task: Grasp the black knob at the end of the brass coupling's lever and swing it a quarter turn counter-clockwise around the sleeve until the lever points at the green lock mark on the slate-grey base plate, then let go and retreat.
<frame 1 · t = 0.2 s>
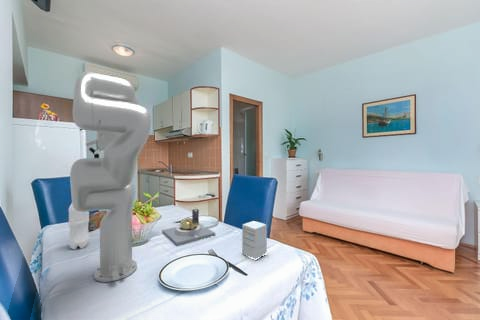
hand: (110, 163, 90), 37 cm above the table, tool pointing down, fingers open, 9 cm apart
tin: (97, 227, 114), on the table
water bottle: (79, 247, 90), on the table
supplement box: (254, 255, 84), on the table
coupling: (190, 219, 103), point 8 cm above the table, hinge at 0.0°
base plate: (188, 234, 105), on the table
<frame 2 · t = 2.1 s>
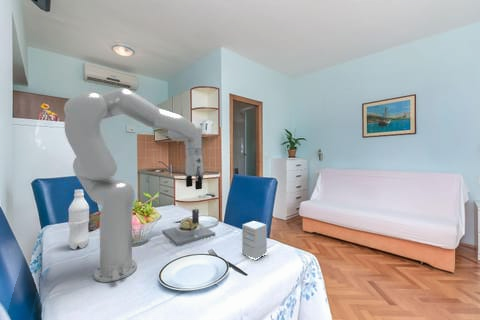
hand: (193, 187, 99), 25 cm above the table, tool pointing down, fingers open, 9 cm apart
nothing on the table moved.
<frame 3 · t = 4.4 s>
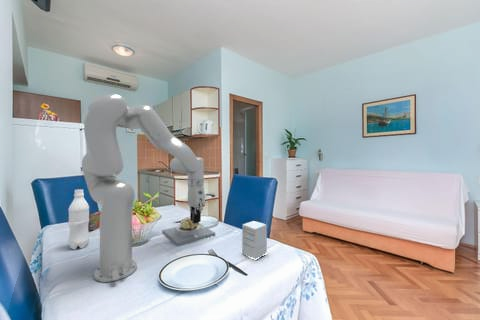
hand: (195, 220, 99), 9 cm above the table, tool pointing down, fingers closed on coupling, 3 cm apart
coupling: (190, 219, 103), point 8 cm above the table, hinge at 0.0°, touching gripper
everything else where it was.
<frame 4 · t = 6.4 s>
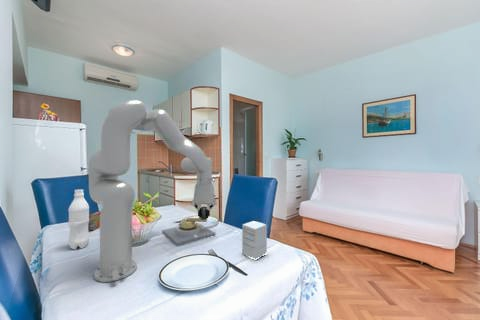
hand: (203, 217, 105), 9 cm above the table, tool pointing down, fingers closed on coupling, 3 cm apart
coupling: (192, 218, 105), point 8 cm above the table, hinge at 47.9°, touching gripper
everything else where it was.
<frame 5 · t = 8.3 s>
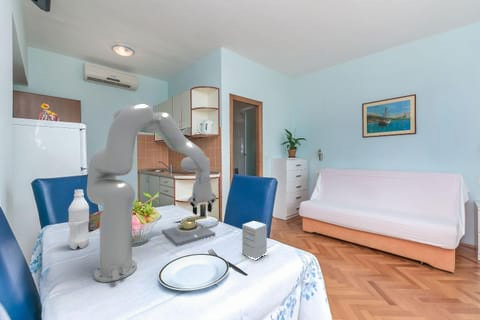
hand: (202, 212, 110), 10 cm above the table, tool pointing down, fingers open, 8 cm apart
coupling: (192, 217, 106), point 8 cm above the table, hinge at 86.1°
everything else where it was.
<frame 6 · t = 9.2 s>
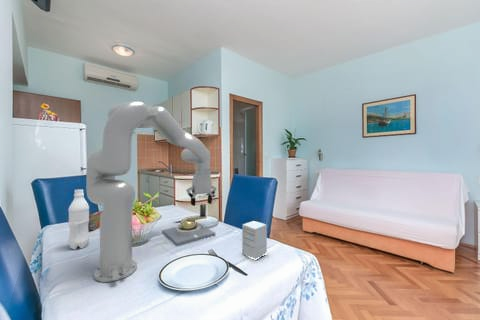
hand: (201, 204, 109), 14 cm above the table, tool pointing down, fingers open, 9 cm apart
nothing on the table moved.
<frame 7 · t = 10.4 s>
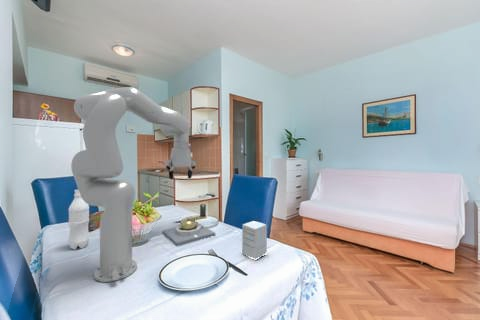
hand: (180, 178, 107), 28 cm above the table, tool pointing down, fingers open, 9 cm apart
nothing on the table moved.
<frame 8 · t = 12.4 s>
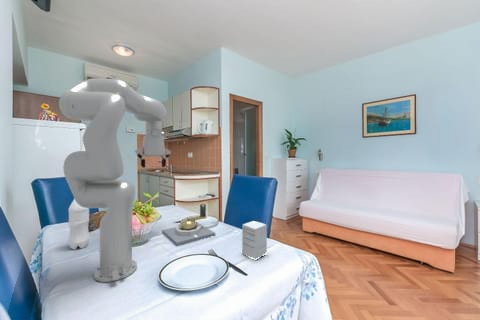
hand: (153, 167, 105), 34 cm above the table, tool pointing down, fingers open, 9 cm apart
nothing on the table moved.
at the end: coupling at +86° (first picture: +0°); the gripper is holding nothing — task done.
